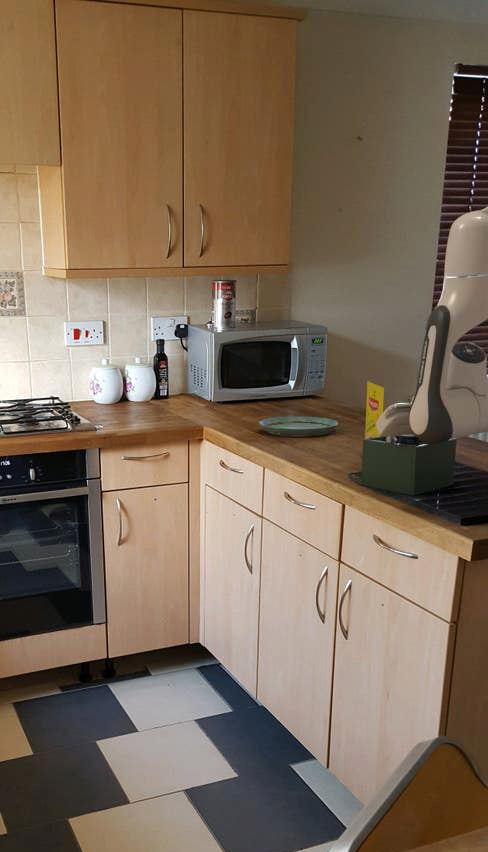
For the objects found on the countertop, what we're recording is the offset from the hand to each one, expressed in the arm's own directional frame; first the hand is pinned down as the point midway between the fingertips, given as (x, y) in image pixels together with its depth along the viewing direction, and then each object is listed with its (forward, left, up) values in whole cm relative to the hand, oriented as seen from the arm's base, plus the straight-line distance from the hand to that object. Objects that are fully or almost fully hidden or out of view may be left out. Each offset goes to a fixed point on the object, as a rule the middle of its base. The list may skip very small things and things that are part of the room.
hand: (408, 440), depth 198 cm
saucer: (+77, +11, -11) cm, 79 cm away
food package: (+26, +1, -11) cm, 28 cm away
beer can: (-1, 0, -10) cm, 10 cm away
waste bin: (-1, 0, -10) cm, 10 cm away
